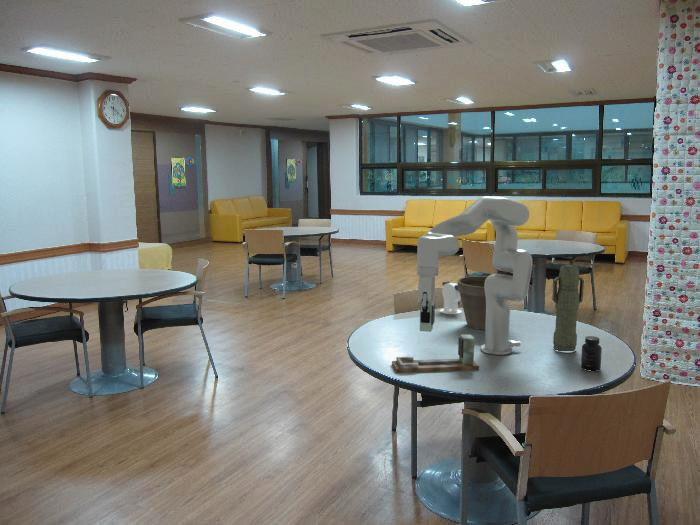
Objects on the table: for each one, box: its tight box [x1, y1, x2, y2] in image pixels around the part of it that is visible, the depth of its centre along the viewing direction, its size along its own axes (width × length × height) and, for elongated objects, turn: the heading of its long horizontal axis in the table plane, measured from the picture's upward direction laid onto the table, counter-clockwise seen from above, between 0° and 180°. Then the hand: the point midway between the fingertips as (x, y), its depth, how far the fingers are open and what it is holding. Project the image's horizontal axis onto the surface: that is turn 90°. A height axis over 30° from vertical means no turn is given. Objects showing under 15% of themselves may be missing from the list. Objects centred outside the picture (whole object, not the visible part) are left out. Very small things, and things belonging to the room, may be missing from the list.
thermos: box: [551, 264, 585, 351], centre depth 239 cm, size 9×12×35 cm
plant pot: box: [457, 275, 489, 331], centre depth 276 cm, size 25×25×22 cm
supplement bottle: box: [580, 335, 603, 372], centre depth 219 cm, size 7×7×12 cm
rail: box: [391, 334, 480, 374], centre depth 220 cm, size 31×9×12 cm, turn 96°
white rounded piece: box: [439, 280, 463, 315], centre depth 305 cm, size 12×11×15 cm
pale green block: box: [419, 300, 436, 333], centre depth 212 cm, size 5×5×10 cm
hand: (426, 320), depth 213 cm, fingers closed on pale green block, 5 cm apart
